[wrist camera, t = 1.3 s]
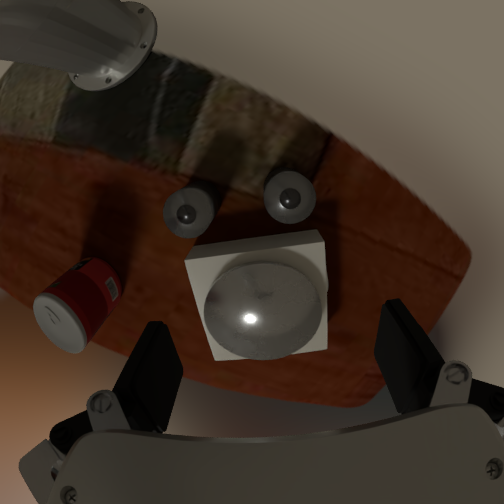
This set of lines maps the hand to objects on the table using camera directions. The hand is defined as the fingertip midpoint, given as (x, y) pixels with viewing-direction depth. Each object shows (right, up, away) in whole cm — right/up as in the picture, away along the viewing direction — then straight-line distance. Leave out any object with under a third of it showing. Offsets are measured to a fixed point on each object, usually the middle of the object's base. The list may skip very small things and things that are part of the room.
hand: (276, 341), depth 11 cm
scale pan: (0, -3, +17) cm, 18 cm away
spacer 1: (-7, +9, +18) cm, 21 cm away
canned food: (-22, 0, +22) cm, 31 cm away
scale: (0, -1, +22) cm, 22 cm away
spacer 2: (+2, +10, +17) cm, 20 cm away
